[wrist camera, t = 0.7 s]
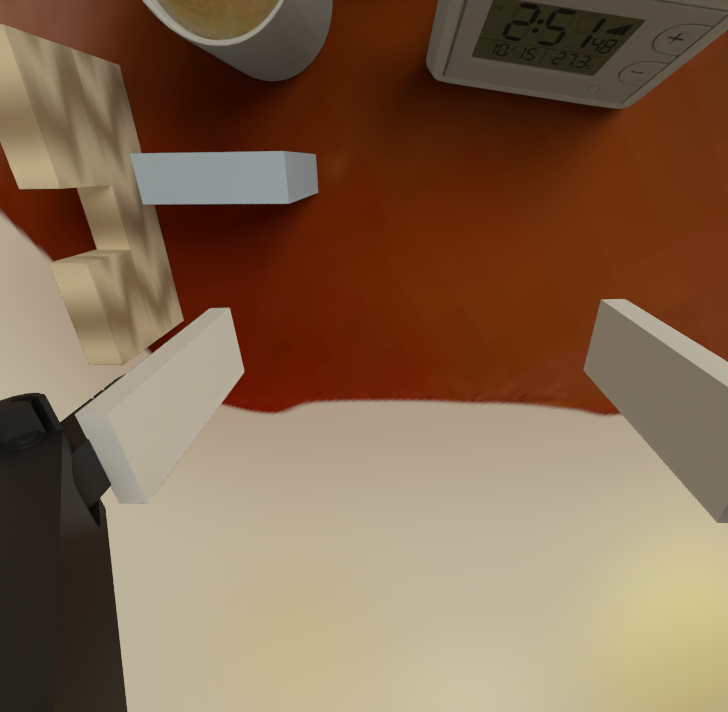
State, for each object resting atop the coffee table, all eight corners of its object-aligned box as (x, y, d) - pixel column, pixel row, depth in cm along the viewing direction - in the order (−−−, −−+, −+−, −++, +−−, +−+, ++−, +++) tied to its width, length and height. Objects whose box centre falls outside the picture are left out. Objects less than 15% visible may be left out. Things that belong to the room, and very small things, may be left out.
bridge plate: (202, 155, 33) (129, 153, 24) (315, 154, 32) (283, 151, 23) (209, 193, 34) (142, 204, 25) (318, 192, 33) (288, 203, 24)
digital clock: (413, 73, 29) (420, 29, 19) (466, -87, 25) (509, -242, 15) (599, 153, 30) (691, 148, 21) (680, 14, 26) (840, -71, 17)
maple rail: (84, 66, 30) (-46, 26, 21) (119, 65, 30) (3, 24, 21) (156, 320, 40) (89, 364, 31) (183, 320, 40) (122, 365, 31)
